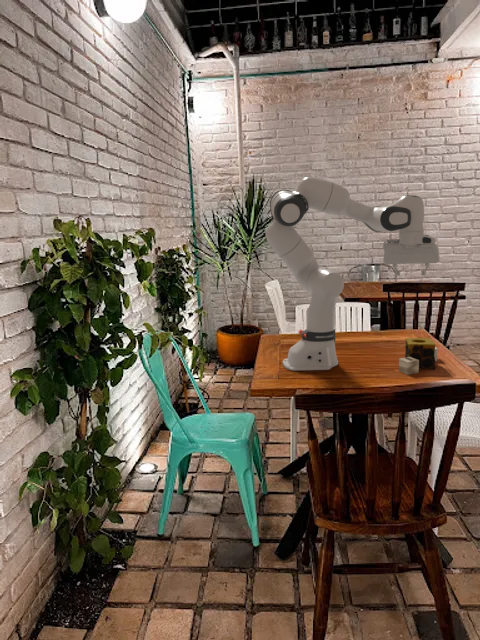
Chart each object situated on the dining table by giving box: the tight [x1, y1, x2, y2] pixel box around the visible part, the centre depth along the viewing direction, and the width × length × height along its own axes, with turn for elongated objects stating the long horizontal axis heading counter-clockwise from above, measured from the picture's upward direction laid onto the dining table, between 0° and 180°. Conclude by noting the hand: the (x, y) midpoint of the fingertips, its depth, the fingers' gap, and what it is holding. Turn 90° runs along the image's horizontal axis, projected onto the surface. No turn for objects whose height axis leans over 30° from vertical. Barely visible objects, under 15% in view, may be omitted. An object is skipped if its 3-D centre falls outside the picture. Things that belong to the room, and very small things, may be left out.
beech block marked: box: [398, 357, 420, 376], centre depth 179 cm, size 5×5×5 cm
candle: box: [404, 337, 436, 370], centre depth 186 cm, size 10×10×10 cm
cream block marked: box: [434, 346, 439, 362], centre depth 194 cm, size 5×5×5 cm
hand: (410, 275), depth 184 cm, fingers open, 8 cm apart
